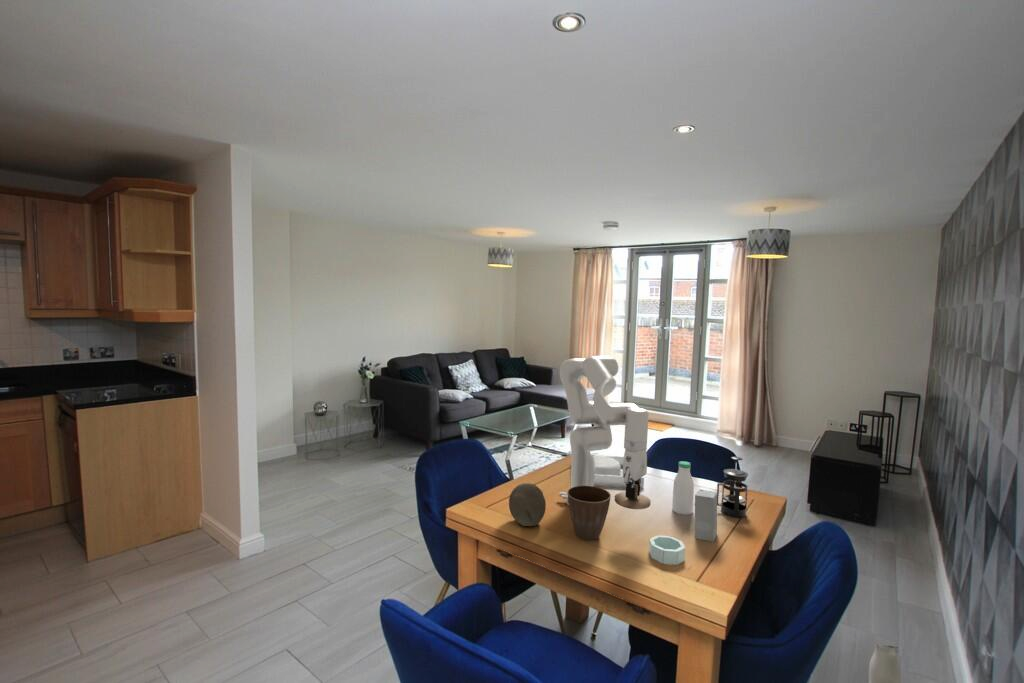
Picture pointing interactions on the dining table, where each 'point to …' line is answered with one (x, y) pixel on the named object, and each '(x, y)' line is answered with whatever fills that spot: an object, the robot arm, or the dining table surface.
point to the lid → (637, 503)
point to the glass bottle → (884, 665)
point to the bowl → (667, 550)
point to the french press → (733, 493)
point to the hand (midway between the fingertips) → (632, 496)
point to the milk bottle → (683, 490)
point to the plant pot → (588, 510)
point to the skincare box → (706, 515)
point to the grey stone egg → (527, 504)
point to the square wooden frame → (611, 479)
